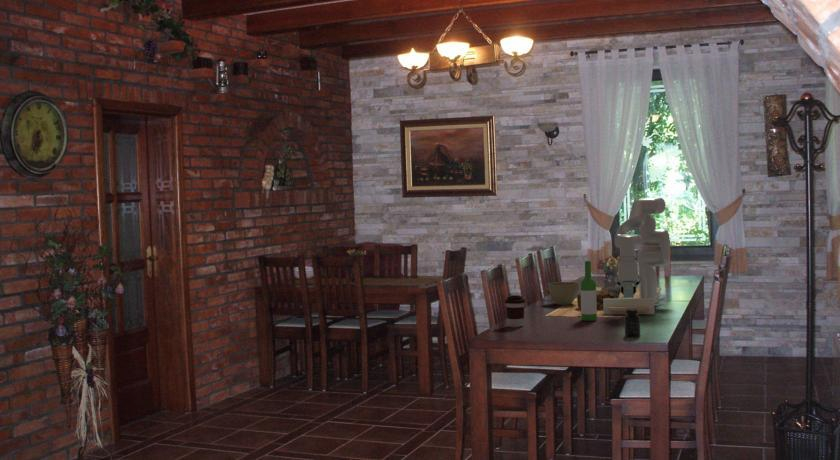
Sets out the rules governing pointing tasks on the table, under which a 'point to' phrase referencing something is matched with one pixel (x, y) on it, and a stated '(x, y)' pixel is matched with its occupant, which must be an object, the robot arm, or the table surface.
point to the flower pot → (563, 292)
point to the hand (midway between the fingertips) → (628, 293)
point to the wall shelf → (628, 306)
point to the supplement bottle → (632, 323)
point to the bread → (598, 298)
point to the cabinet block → (628, 289)
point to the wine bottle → (588, 295)
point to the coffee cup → (515, 310)
